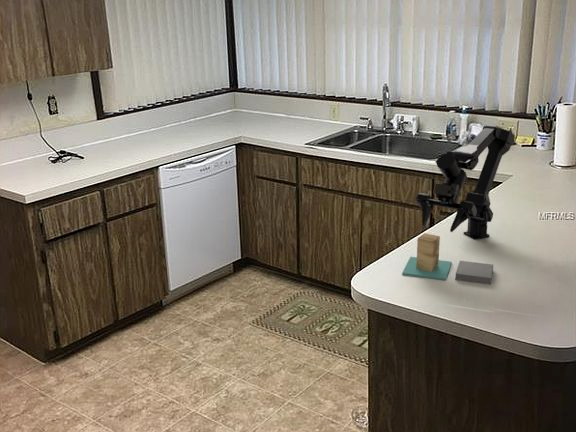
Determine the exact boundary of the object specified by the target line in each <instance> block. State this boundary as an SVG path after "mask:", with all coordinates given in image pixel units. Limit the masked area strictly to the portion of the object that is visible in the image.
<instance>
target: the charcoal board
mask: <svg viewBox="0 0 576 432" xmlns="http://www.w3.org/2000/svg"><path fill="white" fill-rule="evenodd" d="M493 271H494V264H493V263H492V264H490V263H483V262H475V261H467V260H466V261H465V260H459V263H458V265H457V268H456V271H455V278H454V279H455V281H461V282H471V283H479V284H486V285H491V282H492V278H493Z"/></svg>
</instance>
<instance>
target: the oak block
mask: <svg viewBox="0 0 576 432" xmlns="http://www.w3.org/2000/svg"><path fill="white" fill-rule="evenodd" d="M440 238H441V237H440V236H439V235H435V234H431V233H423V234H422V235H420V236H418V237H417V244H416V245H417V247H416V257H417V263H416V268H417V269H422V270H426V271H430V272H432V271H433V270H434V269H435V268H437V267H438V260H440V259H439V258H440V257H439V256H440V242H441V239H440Z"/></svg>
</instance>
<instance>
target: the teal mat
mask: <svg viewBox="0 0 576 432" xmlns="http://www.w3.org/2000/svg"><path fill="white" fill-rule="evenodd" d="M416 263H417V256H416V257H415V256H410V257H409V258H408V261H407V263H406V265H405V267H404V268H403V271H402V272H401V275H402V276H410V277H418V278H424V279H432V280H440V281H446V280H447V277H448V275H449V273H450V269H451V266H452V261H451V260H450V261H448V260H441V259H439V260H438V267H437V268H435V269H434V270H433V271H432V272H430V271H426V270H422V269H417V268H416Z"/></svg>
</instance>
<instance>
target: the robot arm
mask: <svg viewBox="0 0 576 432" xmlns="http://www.w3.org/2000/svg"><path fill="white" fill-rule="evenodd" d="M515 139H516V137H515V134H514V133H513V131H512V130H510V129H504V128H501V127H500V126H498V125H493V124H485V125H484V126H482V130H480V131H479V133H478V134H477V135H476V136H475V137H474V138H473V139H472V140H471V141H470V142H469V143H468V144H467V145H464V146H461V147H459V148H458V149H456V150H455V151H453V150H447V152H446V153H443V154H441V155H440V156H438V158H437V159H436V166H437V168H438V170H439V171H440V172H441V174H442V175H443V177H444V178H445V179H444V182H442V183H434V187H433V192H432V193H433V194H434V195H435V198H436V199H433V198H432V197H431V195H430V193H429V194H427V193H422V192H419V193H417V194H416V196H415V198H414V199H415V202H416V203H417V205H418V207H419V208H421V213H422V215H421V217H422V218H421V221H422V227H425V226H426V224H427V222H428V220H429V218H430V215H431V212H432V208H433V206H435V207H440V208H446V209H451V210H456V215H455V217H454V219H453V222H452V223H451V225H450V230H449V231H450V233H453V232H454V231H455V230H456V229H457V228H458V227H459V226H460V225H462V223H465V221H466V220H467V230H466V231H463V235H465V236H468V237H469V238H471V239H473V240H479V239H484V238H488V237H490V234H489V233H488V223H491V222H492V220H493V216H494V212H493V210H492V209H491V200H490V196H489V195H490V191H491V189H492V185H493V183H494V179H495V178H496V174H497V171H498V169H499V165H500V162H501V160H502V157H503V156H505V154H506V153H508V152H509V151H510V149H511V147H512V146H513V143H514V141H515ZM486 149H488V151H487V155H486V157H485V160H484V163H483V165H482V168H481V172H480V175H479V177H478V180H477V182H476V185H475V188H474V190H473V191H468V192H467V194H466V196H465V199H462V200H461V201H460V203H457V202H458V199H459V197H461V195H462V193H461V191H462V189H463V186H464V183H465V182H466V181H467V182H468V176H467V171H473V170H474V169H475V168H476V167H477V165H478V163H479V157H480V156H481V154H482V153H483V152H484V151H485V150H486ZM465 170H467V171H465Z"/></svg>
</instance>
